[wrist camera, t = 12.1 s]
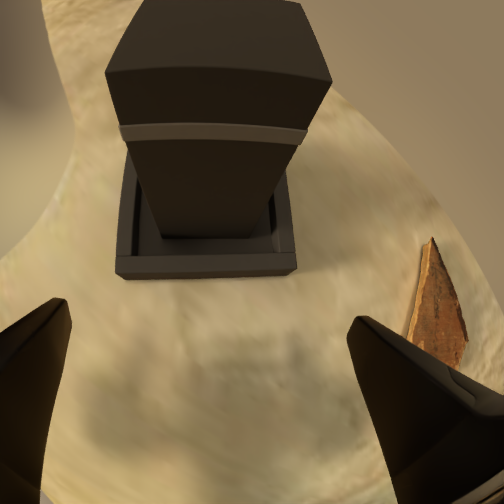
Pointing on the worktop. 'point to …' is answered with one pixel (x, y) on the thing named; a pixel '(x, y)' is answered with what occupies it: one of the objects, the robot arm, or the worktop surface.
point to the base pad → (201, 242)
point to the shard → (437, 311)
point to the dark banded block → (214, 107)
